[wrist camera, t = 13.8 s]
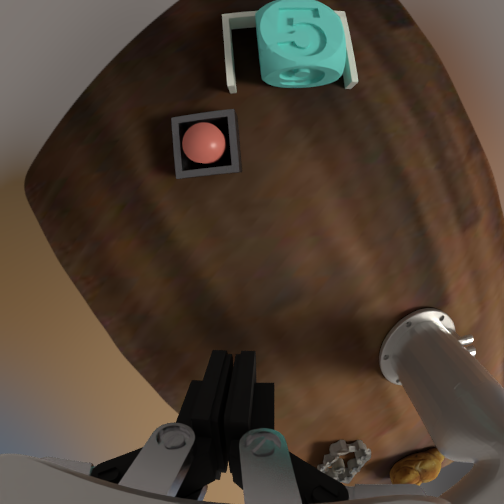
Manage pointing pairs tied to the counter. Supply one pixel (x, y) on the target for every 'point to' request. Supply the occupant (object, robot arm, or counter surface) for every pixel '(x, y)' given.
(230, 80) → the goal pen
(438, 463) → the bread roll
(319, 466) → the egg carton
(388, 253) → the counter surface
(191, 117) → the button collar
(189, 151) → the button
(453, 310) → the counter surface
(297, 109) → the counter surface
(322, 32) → the decorative dice
